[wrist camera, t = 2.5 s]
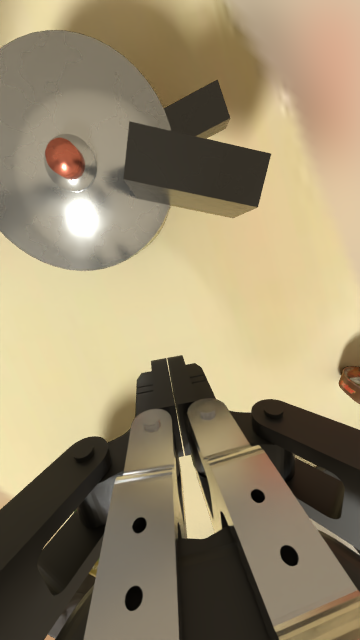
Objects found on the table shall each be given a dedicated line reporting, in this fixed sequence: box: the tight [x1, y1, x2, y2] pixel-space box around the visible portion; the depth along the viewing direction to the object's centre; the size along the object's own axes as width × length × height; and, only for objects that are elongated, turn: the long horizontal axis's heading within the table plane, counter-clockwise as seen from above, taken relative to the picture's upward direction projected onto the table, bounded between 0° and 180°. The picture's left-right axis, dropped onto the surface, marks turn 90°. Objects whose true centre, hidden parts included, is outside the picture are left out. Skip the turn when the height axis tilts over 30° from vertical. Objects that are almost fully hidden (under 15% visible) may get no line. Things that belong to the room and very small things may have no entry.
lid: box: [0, 30, 271, 271], centre depth 18 cm, size 22×17×7 cm
